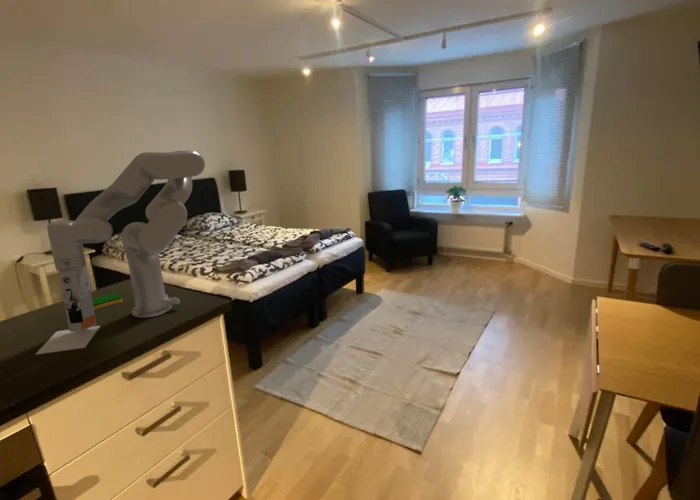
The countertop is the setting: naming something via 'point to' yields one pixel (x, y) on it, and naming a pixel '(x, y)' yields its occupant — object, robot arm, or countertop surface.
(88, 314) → the skincare box
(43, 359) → the countertop surface
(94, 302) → the dish sponge
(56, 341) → the paper
